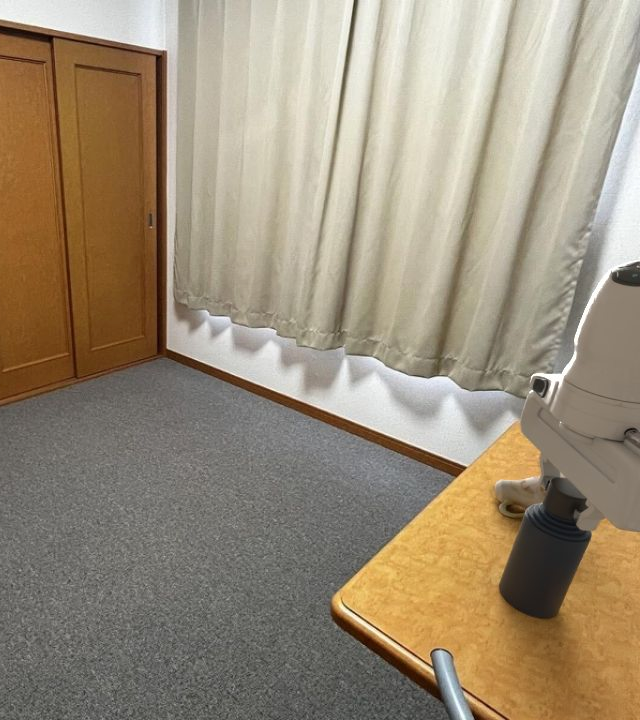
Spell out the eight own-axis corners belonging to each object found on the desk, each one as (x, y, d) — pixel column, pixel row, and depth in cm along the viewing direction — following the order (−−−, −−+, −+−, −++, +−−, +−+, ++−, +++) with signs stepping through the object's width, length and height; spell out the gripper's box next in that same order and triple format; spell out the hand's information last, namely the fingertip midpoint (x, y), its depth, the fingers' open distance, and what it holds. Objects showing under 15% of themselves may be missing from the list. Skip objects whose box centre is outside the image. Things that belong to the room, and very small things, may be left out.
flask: (540, 580, 67) (583, 476, 60) (569, 622, 61) (620, 512, 54) (489, 575, 68) (525, 472, 61) (513, 615, 62) (556, 506, 55)
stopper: (571, 499, 60) (580, 478, 59) (593, 522, 56) (603, 500, 55) (535, 496, 61) (543, 475, 59) (554, 519, 57) (563, 497, 56)
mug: (485, 486, 86) (531, 449, 82) (537, 528, 82) (588, 492, 78) (483, 499, 80) (531, 460, 76) (539, 545, 76) (593, 507, 72)
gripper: (721, 465, 43) (660, 577, 48) (578, 372, 62) (546, 460, 67) (642, 460, 44) (591, 570, 49) (524, 369, 63) (497, 457, 68)
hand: (564, 506), depth 58 cm, fingers open, 5 cm apart
